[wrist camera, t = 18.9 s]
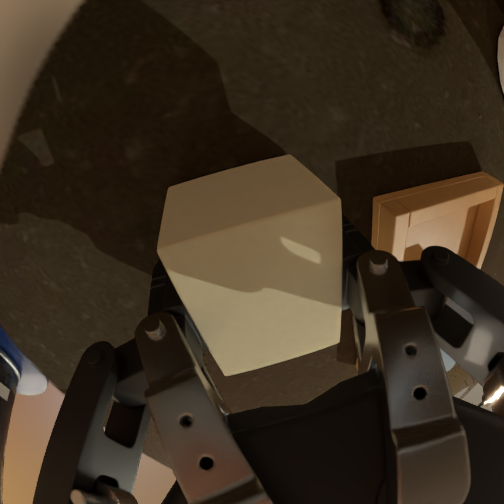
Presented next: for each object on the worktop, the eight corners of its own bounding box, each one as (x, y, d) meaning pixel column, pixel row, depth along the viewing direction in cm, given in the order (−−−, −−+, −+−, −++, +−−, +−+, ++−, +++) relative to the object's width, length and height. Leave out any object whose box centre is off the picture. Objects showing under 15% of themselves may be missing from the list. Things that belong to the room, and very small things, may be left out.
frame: (355, 365, 20) (363, 383, 19) (372, 196, 11) (395, 216, 10) (437, 327, 20) (447, 341, 19) (482, 170, 12) (504, 183, 10)
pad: (214, 303, 13) (225, 377, 10) (167, 186, 9) (155, 250, 6) (306, 277, 13) (340, 343, 10) (290, 153, 10) (342, 198, 6)
